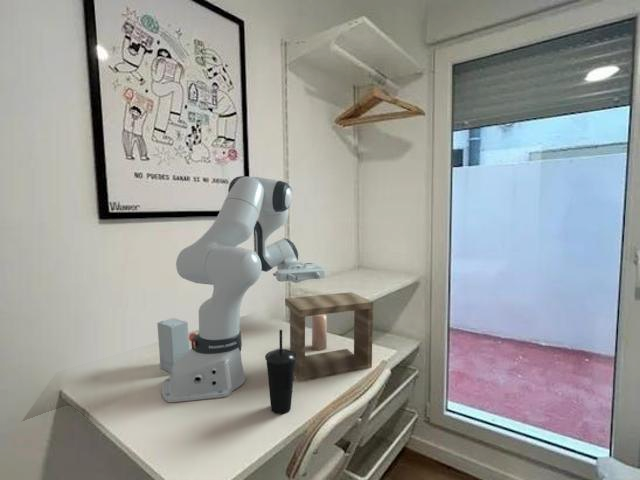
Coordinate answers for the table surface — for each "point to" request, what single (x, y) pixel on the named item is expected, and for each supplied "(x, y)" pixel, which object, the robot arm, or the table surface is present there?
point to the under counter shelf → (332, 360)
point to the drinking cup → (280, 377)
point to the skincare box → (172, 341)
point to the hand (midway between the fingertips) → (307, 277)
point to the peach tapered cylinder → (319, 332)
